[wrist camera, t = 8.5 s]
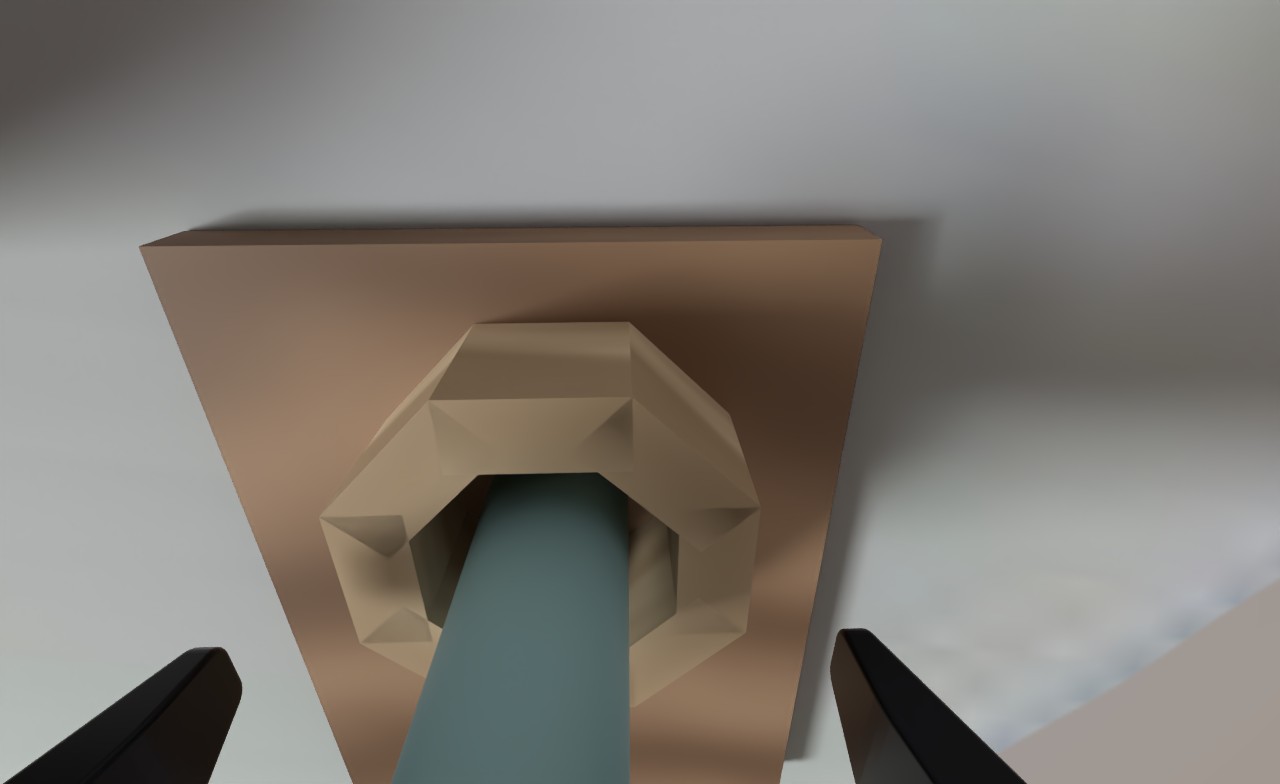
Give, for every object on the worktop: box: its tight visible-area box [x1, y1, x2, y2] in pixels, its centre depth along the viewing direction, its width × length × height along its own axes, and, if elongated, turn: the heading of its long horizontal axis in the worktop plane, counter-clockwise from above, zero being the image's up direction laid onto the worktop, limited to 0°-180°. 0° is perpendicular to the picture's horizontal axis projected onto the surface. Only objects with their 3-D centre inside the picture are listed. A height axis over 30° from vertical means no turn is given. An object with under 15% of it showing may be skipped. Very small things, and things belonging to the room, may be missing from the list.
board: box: [139, 225, 883, 784], centre depth 15 cm, size 18×13×1 cm
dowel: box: [391, 472, 630, 784], centre depth 8 cm, size 3×3×10 cm
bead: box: [319, 322, 761, 707], centre depth 11 cm, size 7×7×3 cm
